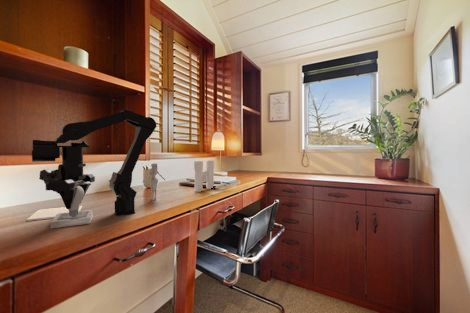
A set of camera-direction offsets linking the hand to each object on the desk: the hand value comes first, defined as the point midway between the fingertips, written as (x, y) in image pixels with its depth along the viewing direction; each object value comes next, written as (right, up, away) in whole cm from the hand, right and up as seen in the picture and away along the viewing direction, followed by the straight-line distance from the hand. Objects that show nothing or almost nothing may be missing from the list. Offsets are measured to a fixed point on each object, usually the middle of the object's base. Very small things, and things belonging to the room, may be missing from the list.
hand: (73, 206), depth 76 cm
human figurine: (+16, -4, +32) cm, 36 cm away
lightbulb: (0, -4, 0) cm, 4 cm away
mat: (-13, -5, +9) cm, 16 cm away
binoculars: (+36, -4, +62) cm, 72 cm away
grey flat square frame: (0, -5, 0) cm, 5 cm away
